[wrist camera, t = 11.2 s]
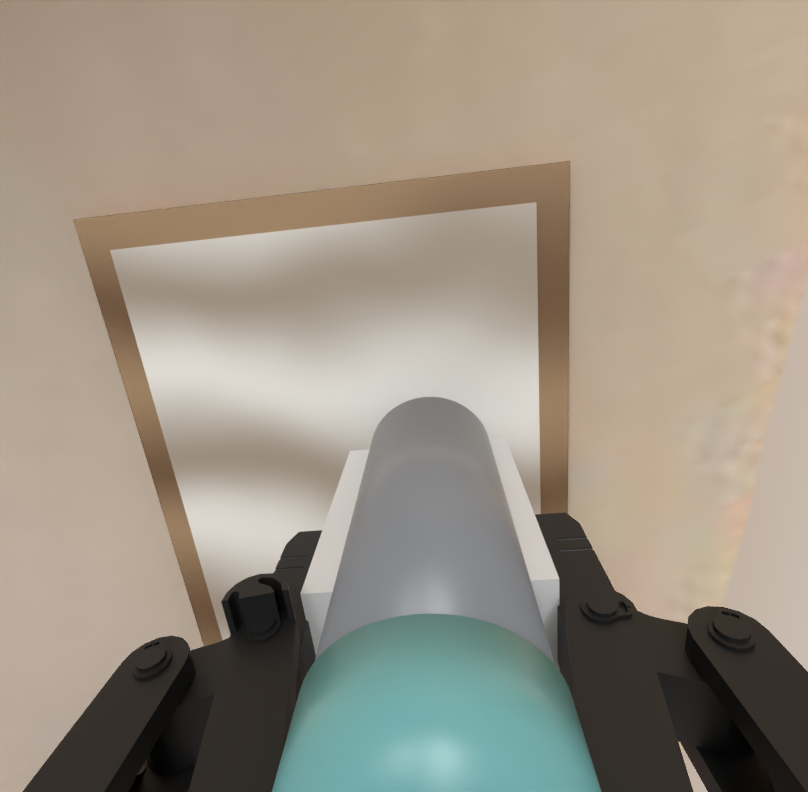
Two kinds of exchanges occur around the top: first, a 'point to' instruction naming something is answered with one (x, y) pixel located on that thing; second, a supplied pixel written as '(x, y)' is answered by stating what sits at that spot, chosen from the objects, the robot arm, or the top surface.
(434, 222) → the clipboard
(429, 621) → the marker
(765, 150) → the top surface
